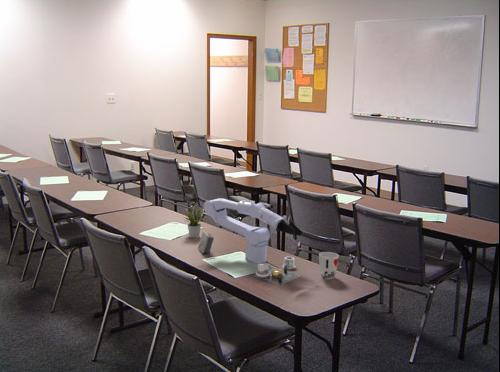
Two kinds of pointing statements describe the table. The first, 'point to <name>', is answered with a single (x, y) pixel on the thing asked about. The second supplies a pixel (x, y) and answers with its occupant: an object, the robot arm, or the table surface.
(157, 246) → the table surface
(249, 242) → the robot arm
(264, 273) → the silver rounded piece
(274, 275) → the carrier
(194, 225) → the house plant
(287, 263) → the gear
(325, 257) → the cup
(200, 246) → the electrical switch
